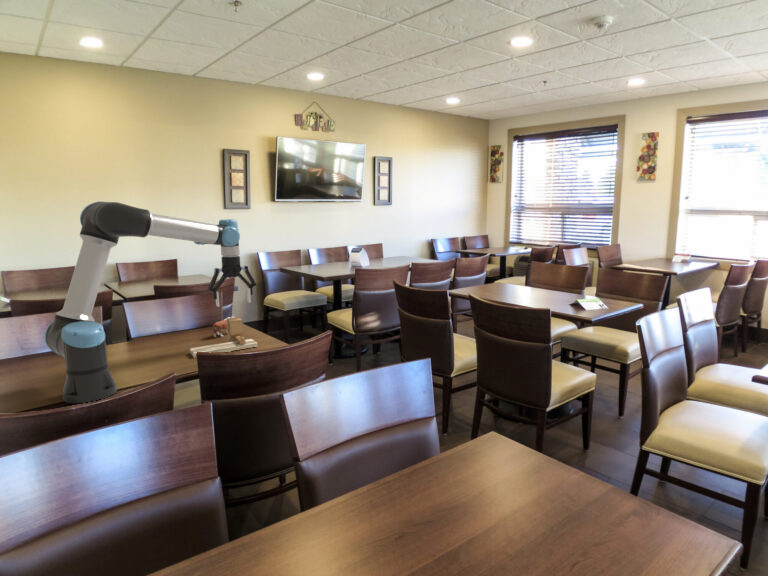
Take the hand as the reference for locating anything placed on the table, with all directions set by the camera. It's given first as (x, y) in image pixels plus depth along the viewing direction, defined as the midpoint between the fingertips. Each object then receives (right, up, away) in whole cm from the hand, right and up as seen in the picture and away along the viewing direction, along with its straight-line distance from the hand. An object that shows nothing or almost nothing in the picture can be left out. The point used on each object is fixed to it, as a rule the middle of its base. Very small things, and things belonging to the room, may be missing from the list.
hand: (233, 304), depth 215 cm
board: (-2, -19, -7) cm, 20 cm away
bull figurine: (-9, -15, +17) cm, 24 cm away
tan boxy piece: (+2, -18, 0) cm, 18 cm away
